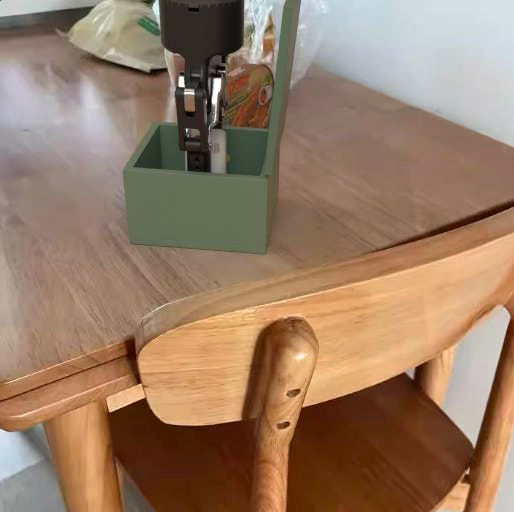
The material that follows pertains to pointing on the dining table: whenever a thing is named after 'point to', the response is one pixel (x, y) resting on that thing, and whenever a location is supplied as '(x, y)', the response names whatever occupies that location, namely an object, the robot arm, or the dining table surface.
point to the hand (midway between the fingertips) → (206, 170)
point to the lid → (282, 81)
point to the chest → (201, 193)
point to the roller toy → (215, 150)
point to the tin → (249, 96)
